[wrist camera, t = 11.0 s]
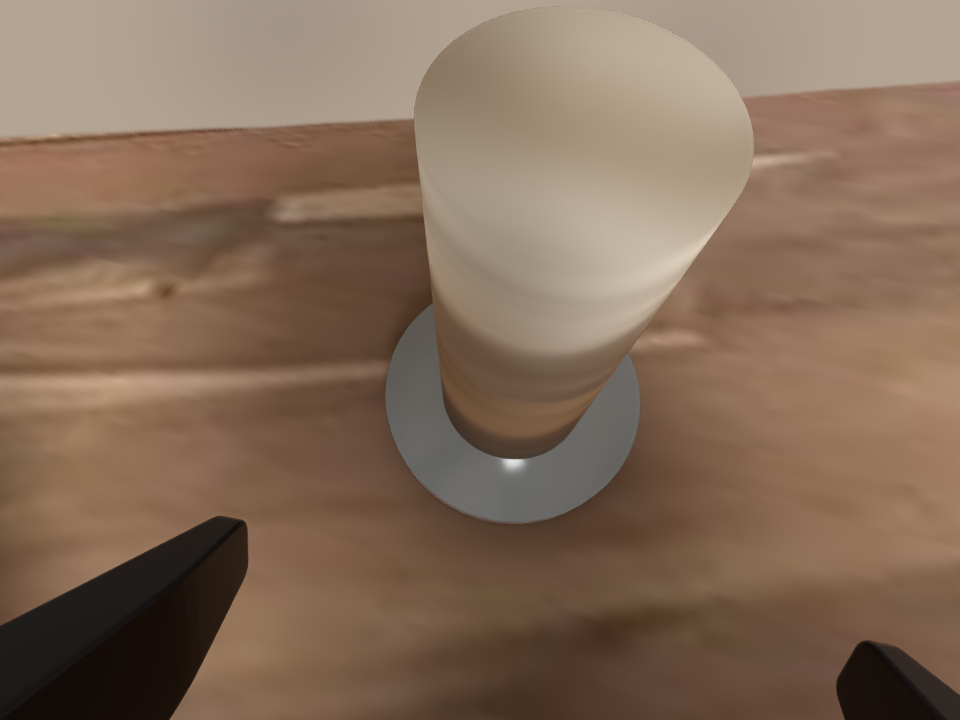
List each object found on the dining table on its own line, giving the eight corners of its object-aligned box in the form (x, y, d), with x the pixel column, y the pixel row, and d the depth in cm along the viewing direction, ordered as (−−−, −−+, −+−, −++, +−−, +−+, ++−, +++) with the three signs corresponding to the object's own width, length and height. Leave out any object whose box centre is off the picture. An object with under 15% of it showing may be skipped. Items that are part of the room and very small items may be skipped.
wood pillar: (553, 483, 19) (706, 315, 7) (418, 423, 20) (350, 178, 8) (601, 358, 21) (783, 62, 9) (477, 307, 22) (494, -27, 10)
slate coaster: (583, 569, 19) (592, 569, 18) (345, 460, 21) (337, 451, 19) (657, 346, 23) (670, 331, 22) (452, 265, 24) (451, 246, 23)
